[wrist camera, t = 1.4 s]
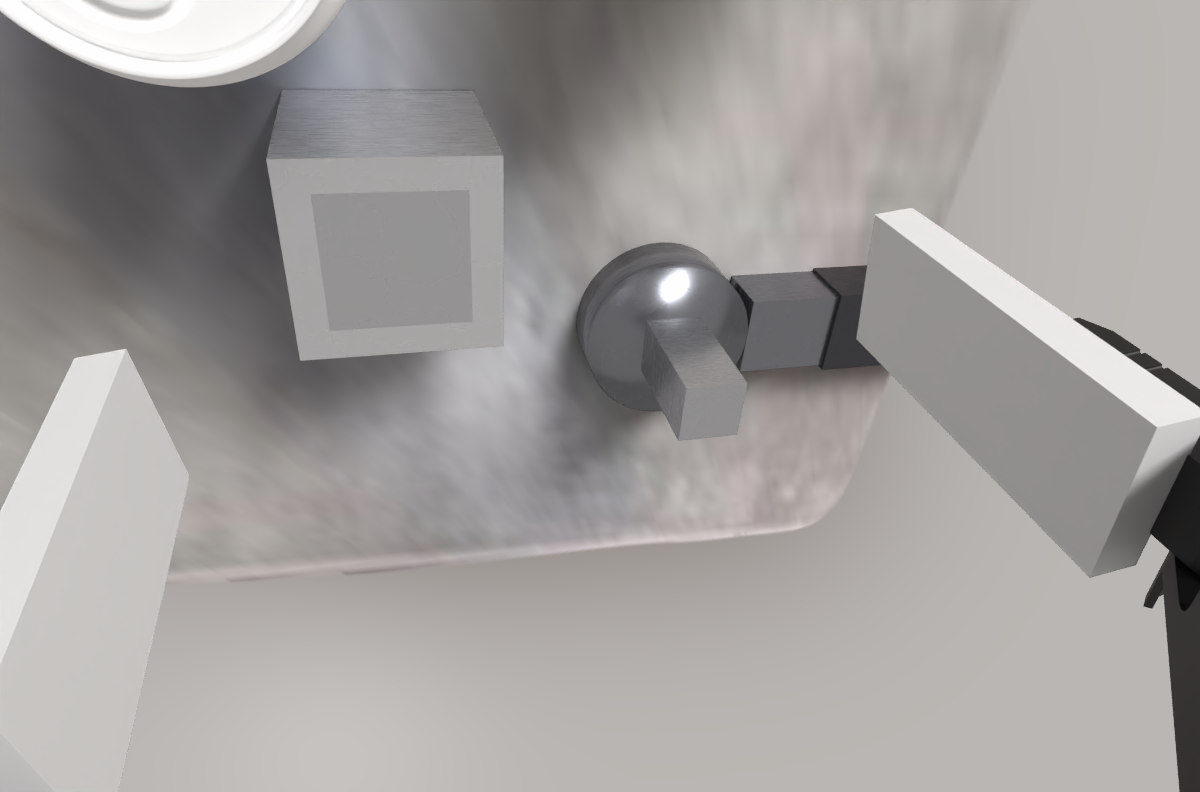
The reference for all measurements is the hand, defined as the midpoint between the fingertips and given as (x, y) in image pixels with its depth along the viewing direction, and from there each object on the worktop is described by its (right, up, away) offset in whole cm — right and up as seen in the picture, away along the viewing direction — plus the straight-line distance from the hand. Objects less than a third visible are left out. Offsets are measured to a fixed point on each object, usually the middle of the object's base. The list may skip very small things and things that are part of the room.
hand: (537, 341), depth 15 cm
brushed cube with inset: (-7, +7, +15) cm, 18 cm away
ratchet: (+9, +3, +23) cm, 25 cm away
